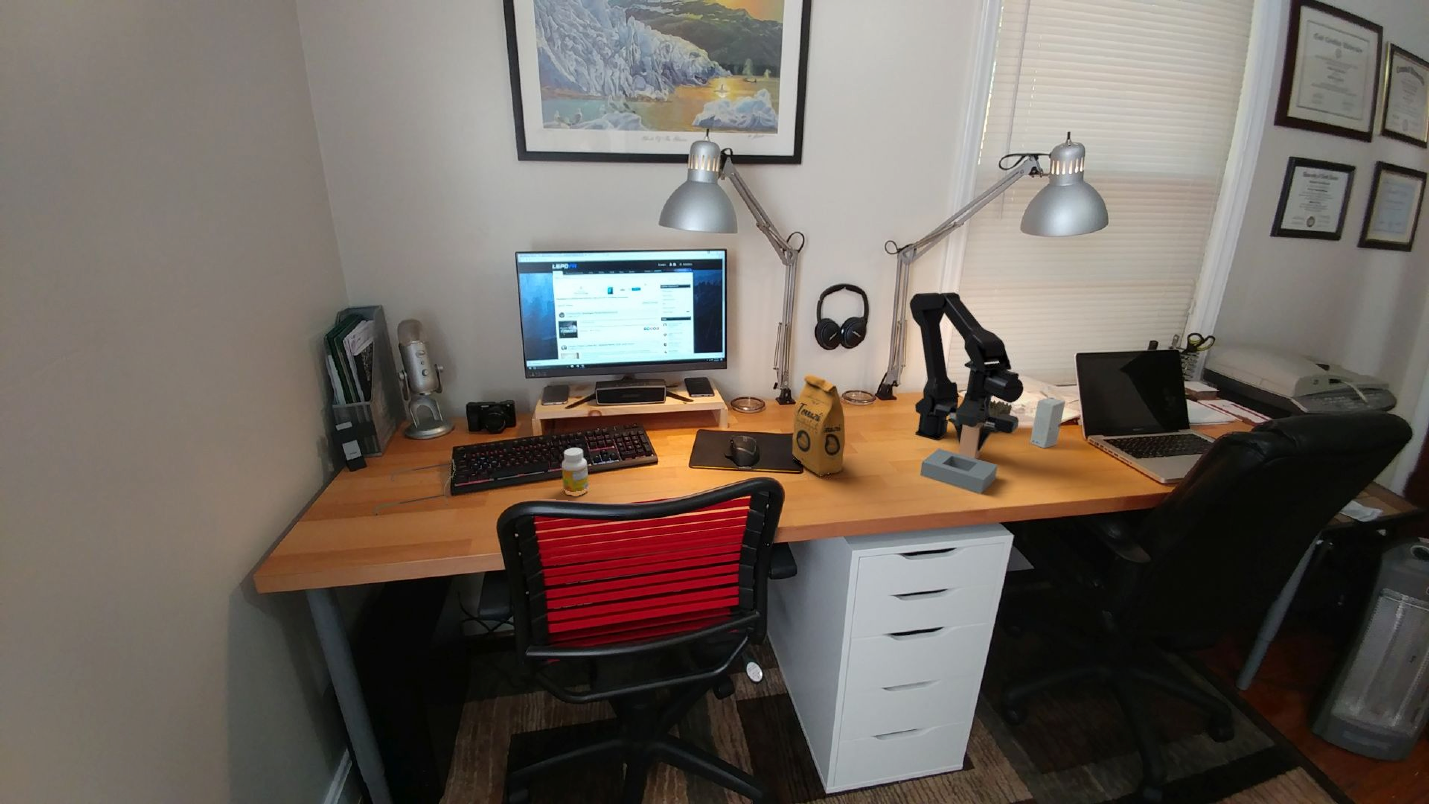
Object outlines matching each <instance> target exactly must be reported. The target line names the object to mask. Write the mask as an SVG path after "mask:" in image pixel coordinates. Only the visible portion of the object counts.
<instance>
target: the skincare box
mask: <svg viewBox="0 0 1429 804" xmlns="http://www.w3.org/2000/svg"><path fill="white" fill-rule="evenodd" d="M1065 404H1066V401H1065V400H1061V399H1058V398H1054V397H1048V398H1043V399H1040V400H1038V401H1037V405H1036V410H1035V416H1034V419H1033V420H1034V421H1033V424H1032V425H1033V426H1032V431H1031V437H1030V442H1029V443H1030V444H1032V445H1034V446H1037V447H1039V448H1042V449H1047V448H1050V447H1053V446H1055V445H1057V443H1058V439H1059V435H1060V429H1061V424H1062V420H1063V415H1064V414H1063V413H1064V410H1065Z"/></svg>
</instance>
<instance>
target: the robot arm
mask: <svg viewBox="0 0 1429 804" xmlns="http://www.w3.org/2000/svg"><path fill="white" fill-rule="evenodd" d="M909 301H910V302H909V308H910V313H911V316H912V319H913V320H914V321H915V323H916V324H917V325H918V326H919V328H920V335H921V343H922V349H923V356H924V362H925V370H926V376H927V380H926V383H925V385H924V388H923V390H922V391H923V392H922V393H923V394H922V395H923V396H922V398H921V399H920V400H919V401H917V402H916V403H915V404H914V406H915V412H916V413H918V414H919V420H918V427H917V430H916V431H915V435H918V436H922V437H925V438H929V439H933V440H937V441H938V440H940V439H941V438H943V436H945V435H947V430H948V425H949V422H950V423H951V424H952V425H953V426H954V429H955V432H956V437H957V439H958V444H959V445H960V439H961V433H962V427H963V425H967V426H969V427H975V426H976V425H977V423H984V424H985V426H984V427H983V428H982V434H981V437H980V440H979V444H978V451H979V450H980V451H981V449H982V448H983V447H984V445H985V443H986V441H987V440H988V438H989V437H990V435H991V434H992V433H994V432H996V431H999V432H1000V433H1005V434H1013V433H1014V432H1015V431H1016V430H1017V429H1018V428H1019V422H1020V420H1019V418H1018V416H1016V415H1011V414H1010V415H1007V414H1003V413H1002V414H1001V415H1000V416H999V417H996V416H992V415H989V412H990V403H991V401H992V397H995V398H997V399H999V400H1000V401H1002V402H1006V403H1008V404H1009V403H1010V404H1011V403H1015V402H1017V401H1018V400H1019V399H1020V397H1022V394H1023V392H1024V389H1025V387H1024V383H1023V382H1022V380H1020V379H1019V376H1020V375H1019V373H1018V372H1015V371H1010V370H1012V365H1011V361H1010V359H1009V357H1008V353H1007V351H1006V345H1005V342H1004V341H1003V340H1002V339H1001V338H1000V337H999V336H998V335H997V334H995V333H994V332H992V331H990V330H988V329H986V328H984V327H983V326H982V325H981V323H979V321H978V320H977V319H976V318H975V317H974V315H973V314H972V312H971V311H970V310H969V309H968V307H967V306H966V305H965V303H964V302H963V301H962V300H961V296H960V294H958V293H957V292H941V293H938V292H923V293H922V292H920V293H915V294H914V295H913V296H912V298H911V299H910V300H909ZM944 315H945V316H946V318H947V319H948V320H949V321H950V323H951V324H952V326H953V327H954V328H955V329H956V331H957V332H958V333H959V334H960V336H961V338H962V339H963V341H964V350H965V352H966V354H967V356H968V358H969V359H970V360H969V361H968V362H966V363H964V367H966V368H967V369H970V370H969V375H968V381H967V387H966V392H965V393H964V397H963V400H962V402H961V403H960V404H959V398H960V395H959V390H958V384H957V382H956V381H953V382H952V380H951V379H950V378H949V377H948V373H947V372H948V371H947V366H946V360H945V359H946V358H945V353H944V346H943V338H942V331H941V322H942V320H943V317H944ZM947 417H948V418H947ZM996 433H997V432H996Z"/></svg>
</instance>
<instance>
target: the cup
mask: <svg viewBox="0 0 1429 804" xmlns="http://www.w3.org/2000/svg"><path fill="white" fill-rule="evenodd" d="M1012 409H1013V407H1012V404H1009V403H1008V402H1006V403H1005V401H1001V400H998V401H997V402H996V399H995V400H993V401H992V400H991V403H990V412H989V415H992V416H996V417H999V416H1000V415H1001V414H1002V413H1003V414H1007V415H1011V411H1012ZM999 432H1000V431H996V432H994V433H999Z"/></svg>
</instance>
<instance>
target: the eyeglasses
mask: <svg viewBox="0 0 1429 804" xmlns="http://www.w3.org/2000/svg"><path fill="white" fill-rule="evenodd" d="M452 463H453V464H452ZM449 465H452V467H453V468H452V469H453V470H454V472H453V470H452V475H451V476H450V477H449V478H448V479H447V481H446V482H445V484H444V487H443V494H439V495H434V496H429V497H422V498H418V499H413V500H407V501H401V502H392V503H388V504H384V505H379V506H376V507H375V509H374V514H376V513H378V509H380V508H385V507H391V506H396V505H397V506H398V505H402V504H406V503H413V502H417V501H424V500H429V499H434V498H440V497H444V501H445V503H446V504H447V503H448V501H447V499H446V486H447V484H448V482H450V480H451V478H452V479H453V477H454V473H455V471H456V467H455V461H454V459H453V458H452V462H449V463H443V464H437V465H431V466H425V467H420V468H412V469H406V470H400V471H399V470H398V471H395V472H393V473H391V476H390V479H391V480H392V478H393V479H394V476H395V475H396V474H397V475H398V474H403V473H408V472H413V471H420V470H426V469H430V468H431V469H432V468H436V467H443V466H444V467H445V466H449ZM454 467H455V468H454Z"/></svg>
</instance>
